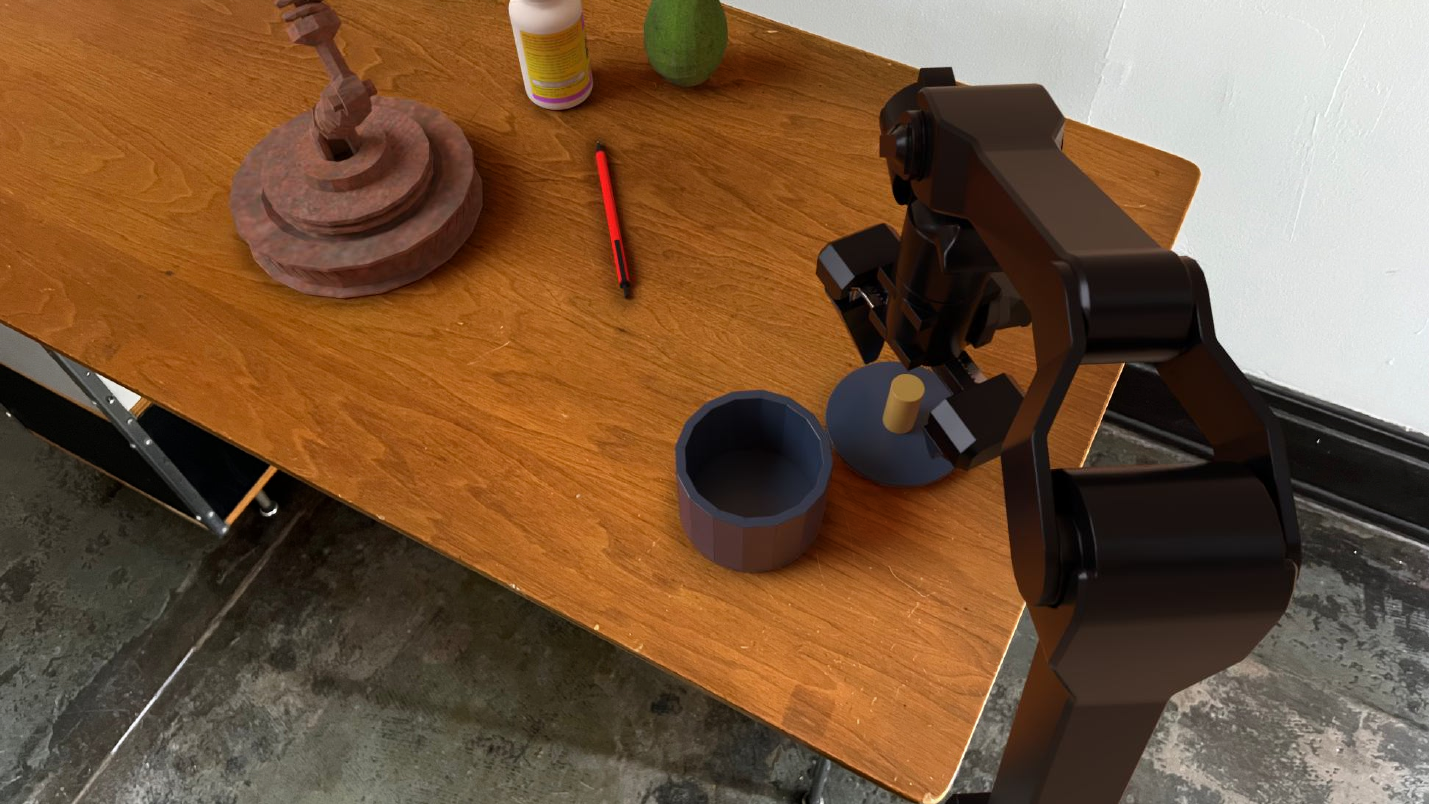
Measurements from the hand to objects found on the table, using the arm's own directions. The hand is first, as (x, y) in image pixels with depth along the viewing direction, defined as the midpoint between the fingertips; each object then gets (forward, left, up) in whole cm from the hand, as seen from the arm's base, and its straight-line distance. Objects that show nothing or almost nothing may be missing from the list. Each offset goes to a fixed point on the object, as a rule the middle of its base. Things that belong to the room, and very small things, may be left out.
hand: (902, 406), depth 71 cm
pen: (+30, +11, -4) cm, 32 cm away
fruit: (+44, -3, -3) cm, 44 cm away
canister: (-1, +13, -3) cm, 13 cm away
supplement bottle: (+48, +9, -3) cm, 49 cm away
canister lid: (0, 0, -3) cm, 3 cm away
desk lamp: (+43, +31, -3) cm, 52 cm away
